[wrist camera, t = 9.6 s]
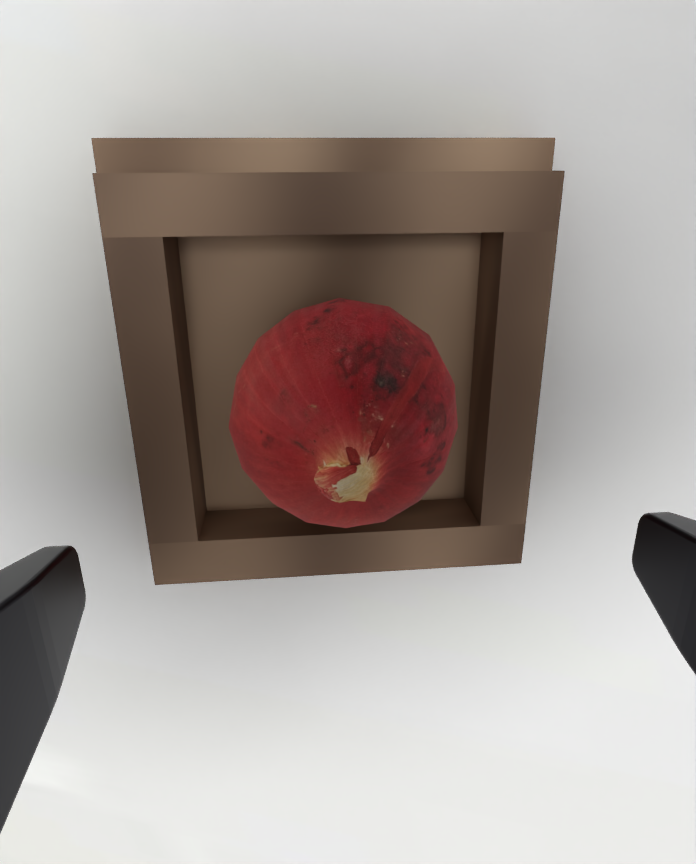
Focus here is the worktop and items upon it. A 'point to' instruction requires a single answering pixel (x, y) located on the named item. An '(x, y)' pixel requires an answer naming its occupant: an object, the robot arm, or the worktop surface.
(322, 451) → the onion
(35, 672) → the robot arm
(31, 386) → the worktop surface
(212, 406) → the walnut holder
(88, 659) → the worktop surface
